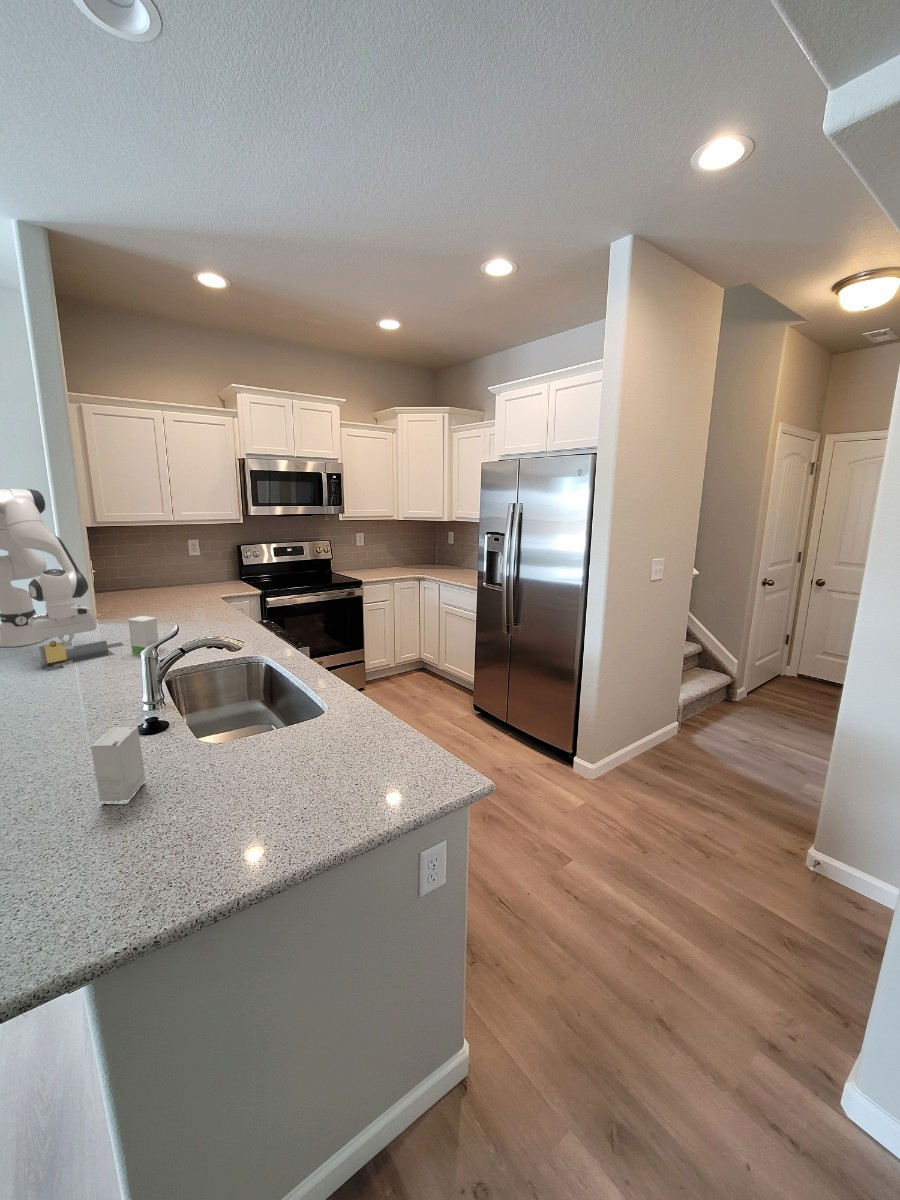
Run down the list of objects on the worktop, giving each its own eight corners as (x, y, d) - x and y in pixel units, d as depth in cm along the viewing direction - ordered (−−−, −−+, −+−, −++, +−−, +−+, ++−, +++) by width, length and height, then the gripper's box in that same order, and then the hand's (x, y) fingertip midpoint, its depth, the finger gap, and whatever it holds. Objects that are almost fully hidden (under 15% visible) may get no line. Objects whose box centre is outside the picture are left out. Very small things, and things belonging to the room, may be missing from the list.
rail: (41, 664, 190) (37, 645, 189) (107, 651, 206) (104, 633, 205) (46, 671, 184) (42, 650, 182) (114, 656, 200) (111, 638, 198)
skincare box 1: (120, 784, 114) (111, 726, 110) (148, 783, 114) (139, 724, 111) (99, 807, 105) (88, 744, 102) (128, 805, 106) (118, 743, 103)
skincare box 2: (131, 655, 201) (126, 619, 198) (145, 650, 207) (140, 615, 204) (147, 657, 199) (142, 620, 195) (161, 652, 205) (156, 616, 202)
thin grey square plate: (101, 648, 211) (101, 645, 210) (120, 644, 216) (120, 642, 215) (105, 651, 207) (105, 648, 206) (124, 647, 212) (124, 645, 211)
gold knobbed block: (45, 660, 189) (41, 642, 187) (64, 656, 193) (61, 638, 192) (47, 663, 186) (43, 644, 184) (67, 659, 190) (63, 641, 188)
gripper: (28, 618, 179) (35, 653, 182) (94, 608, 194) (100, 641, 197) (25, 615, 183) (32, 650, 186) (90, 605, 198) (96, 638, 201)
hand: (67, 645), depth 192 cm, fingers closed
